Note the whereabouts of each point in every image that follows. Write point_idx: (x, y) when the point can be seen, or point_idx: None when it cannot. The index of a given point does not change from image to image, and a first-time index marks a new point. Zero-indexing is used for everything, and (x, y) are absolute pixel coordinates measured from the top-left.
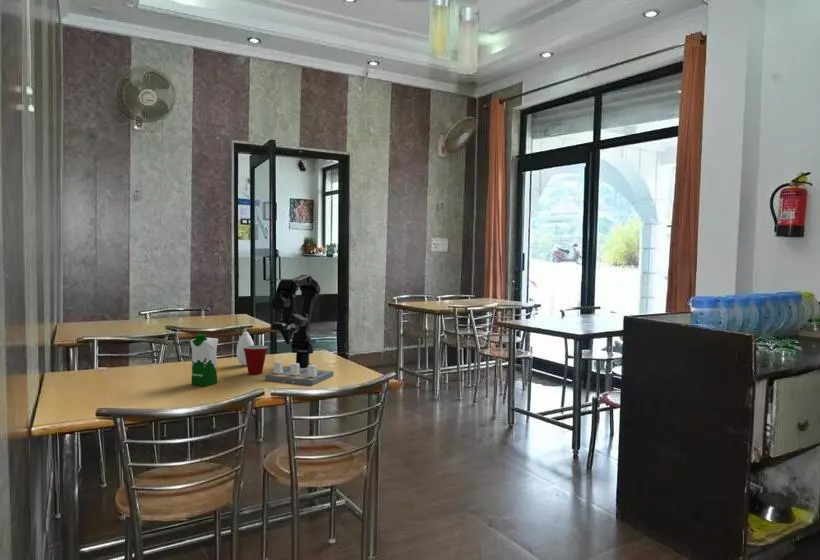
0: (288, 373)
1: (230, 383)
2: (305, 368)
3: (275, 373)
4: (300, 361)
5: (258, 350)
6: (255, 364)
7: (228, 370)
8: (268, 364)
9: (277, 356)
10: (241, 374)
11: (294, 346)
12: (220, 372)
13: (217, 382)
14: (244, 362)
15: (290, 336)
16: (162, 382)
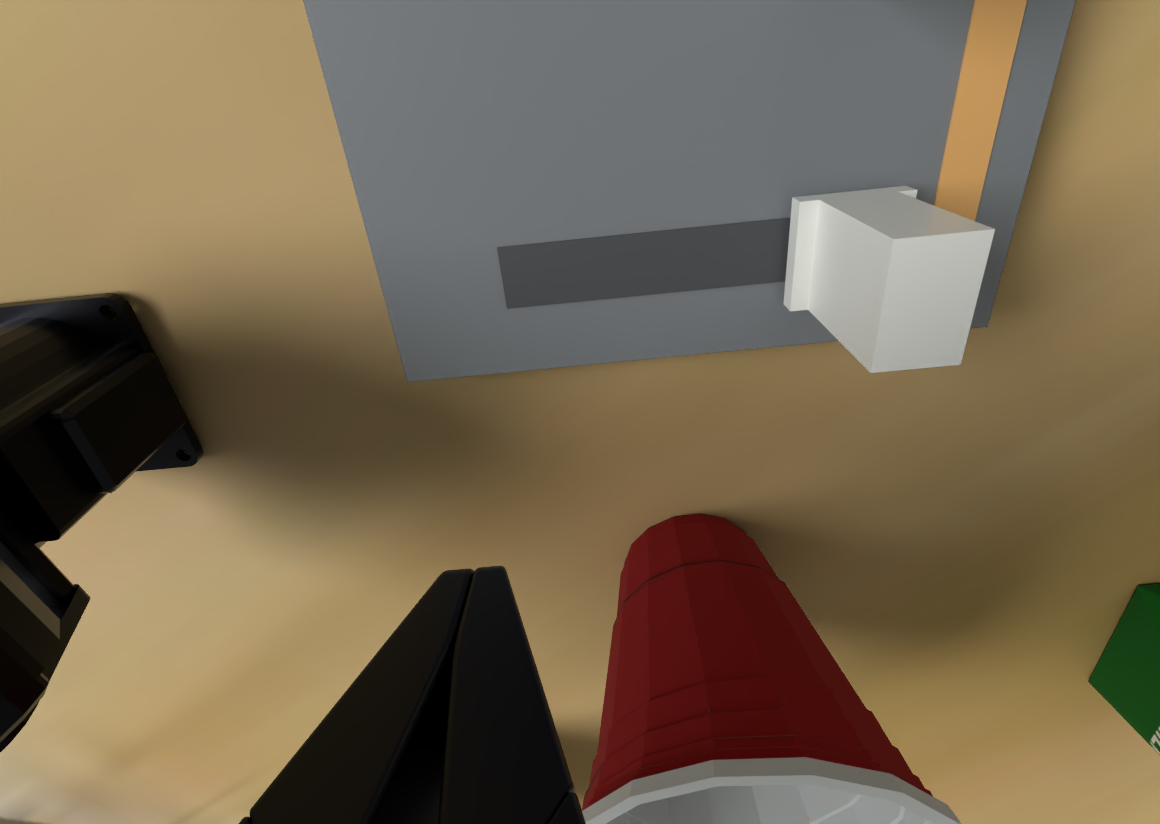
0: (786, 98)
1: (1154, 494)
2: (325, 77)
3: None
4: (119, 391)
5: (889, 764)
6: (800, 607)
7: None
8: (327, 670)
9: (46, 773)
10: None
11: (22, 636)
12: None
13: (1140, 586)
14: None
15: (374, 819)
16: (1151, 802)
